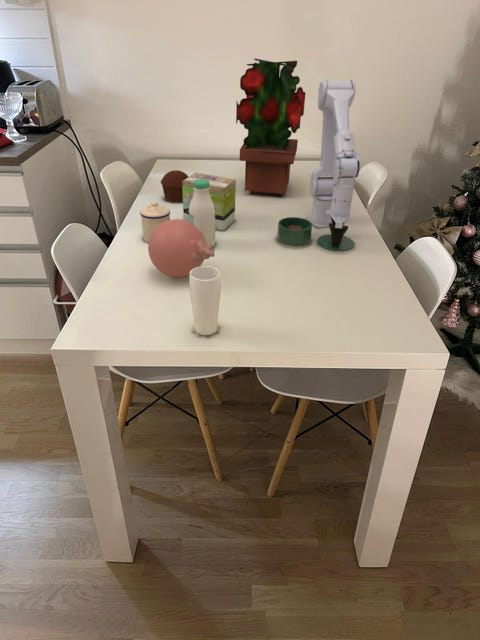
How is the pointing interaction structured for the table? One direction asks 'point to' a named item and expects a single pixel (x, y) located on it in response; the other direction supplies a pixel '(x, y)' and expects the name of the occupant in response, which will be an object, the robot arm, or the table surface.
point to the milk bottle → (203, 210)
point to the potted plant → (269, 125)
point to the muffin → (173, 186)
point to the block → (295, 227)
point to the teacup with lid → (153, 218)
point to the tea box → (213, 197)
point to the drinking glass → (205, 298)
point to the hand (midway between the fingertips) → (335, 240)
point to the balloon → (178, 248)
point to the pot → (294, 232)
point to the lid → (326, 243)
